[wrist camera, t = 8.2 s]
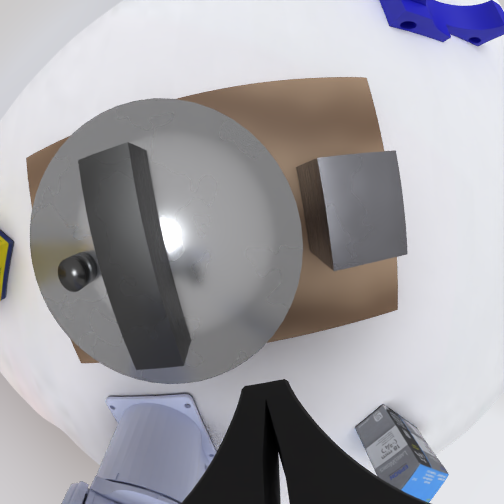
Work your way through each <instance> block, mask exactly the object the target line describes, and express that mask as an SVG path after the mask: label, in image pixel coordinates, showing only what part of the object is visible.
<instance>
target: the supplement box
mask: <svg viewBox="0 0 504 504" xmlns="http://www.w3.org/2000/svg"><path fill="white" fill-rule="evenodd" d="M13 244H14V242H13V241H12V240H11V239H10V238H9V237H8V236H6V235H5V234H4V233H3V232H2V231H0V300H2V299H4V298H5V297H6V289H7V280H8V273H9V266H10V260H11V255H12V248H13Z"/></svg>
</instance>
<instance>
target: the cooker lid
mask: <svg viewBox="0 0 504 504" xmlns="http://www.w3.org/2000/svg"><path fill="white" fill-rule="evenodd" d="M30 249H31V257H32V264H33V268H34V272H35V276H36V280H37V283H38V286H39V288H40V291H41V294H42V296H43V298H44V300H45V302H46V304H47V306H48V308H49V310H50V312H51V313H52V315H53V317H54V318H55V320H56V321H57V323H58V324H59V325H60V327H61V328H62V329H63V330H64V332H65V333H66V334H67V335H68V337H69V338H70V339H71V340H72V341H73V342H74V343H75V344H76V345H77V346H79V347H80V348H81V349H82V350H83V351H84V352H86V353H87V354H88V355H89V356H91V357H92V358H93V359H95V360H97V361H98V362H100V363H101V364H103V365H105V366H106V367H108V368H110V369H112V370H114V371H116V372H119V373H121V374H123V375H126V376H129V377H132V378H135V379H139V380H144V381H148V382H154V383H165V384H180V383H190V382H196V381H202V380H205V379H209V378H212V377H215V376H218V375H220V374H223V373H225V372H227V371H229V370H232V369H234V368H235V367H237V366H238V365H240V364H242V363H243V362H245V361H247V360H248V359H249V358H250V357H252V356H253V355H254V354H255V353H256V352H258V351H259V350H260V349H261V348H262V347H263V346H264V345H265V344H266V343H267V342H268V340H269V339H270V338H271V337H272V336H273V335H274V333H275V332H276V331H277V329H278V328H279V326H280V325H281V323H282V322H283V320H284V318H285V316H286V314H287V312H288V310H289V308H290V306H291V304H292V302H293V299H294V296H295V293H296V290H297V287H298V283H299V278H300V273H301V268H302V254H303V240H302V228H301V221H300V217H299V213H298V208H297V204H296V201H295V198H294V196H293V193H292V191H291V188H290V185H289V183H288V181H287V179H286V177H285V176H284V174H283V172H282V170H281V168H280V167H279V165H278V163H277V162H276V161H275V159H274V158H273V157H272V155H271V154H270V153H269V151H268V150H267V149H266V147H265V146H264V145H263V144H262V143H261V142H260V141H259V140H258V139H257V138H256V137H255V136H254V135H253V134H252V133H250V132H249V131H248V130H247V129H245V128H244V127H243V126H241V125H240V124H239V123H237V122H236V121H234V120H233V119H231V118H230V117H228V116H226V115H224V114H222V113H220V112H218V111H216V110H214V109H212V108H209V107H206V106H203V105H200V104H197V103H194V102H189V101H183V100H177V99H156V98H155V99H146V100H139V101H133V102H130V103H126V104H123V105H119V106H116V107H114V108H112V109H110V110H107V111H105V112H103V113H101V114H99V115H98V116H96V117H94V118H93V119H91V120H90V121H88V122H87V123H85V124H84V125H83V126H81V127H80V128H79V129H78V130H77V131H76V132H74V133H73V134H72V135H71V136H70V137H69V138H68V139H67V140H66V142H65V143H64V144H63V145H62V146H61V147H60V148H59V150H58V151H57V153H56V154H55V156H54V157H53V159H52V160H51V162H50V163H49V165H48V167H47V169H46V171H45V173H44V175H43V177H42V179H41V182H40V184H39V187H38V190H37V193H36V196H35V200H34V204H33V209H32V215H31V224H30Z"/></svg>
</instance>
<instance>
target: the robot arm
mask: <svg viewBox="0 0 504 504" xmlns="http://www.w3.org/2000/svg"><path fill="white" fill-rule="evenodd" d="M105 402H106V404H107V406H108V407H109V409H110V411H111V412H112V414H113V416H114V417H115V419H116V421H117V422H118V426H117V428H116V431H115V433H114V435H113V437H112V440H111V442H110V444H109V447H108V449H107V451H106V454H105V456H104V458H103V461H102V463H101V466H100V468H99V470H98V473H97V475H96V476H95V478H94V480H93V482H92V485H91V487H90V489H88V484H87V483H85V482H83V481H80V482H79V483H72V484H71V485H70V487H69V489H68V491H67V493H66V495H65V497H64V499H63V502H62V504H280V479H279V457H278V452H279V455H280V459H281V462H282V466H283V469H284V473H285V476H286V481H287V488H288V495H289V501H290V504H430V503H428V502H425V501H423V500H421V499H419V498H416V497H414V496H412V495H410V494H407V493H405V492H404V491H402V490H400V489H398V488H396V487H395V486H393V485H391V484H389V483H388V482H386V481H384V480H382V479H381V478H379V477H377V476H376V475H374V474H373V473H371V472H370V471H369V470H367V469H366V468H364V467H363V466H362V465H360V464H359V463H358V462H356V461H355V460H354V459H353V458H351V457H350V456H349V455H348V454H347V453H345V452H344V451H343V450H342V449H341V448H340V447H339V446H338V445H337V444H336V443H335V442H334V441H333V440H332V439H331V438H330V437H329V436H328V435H327V434H326V433H325V432H324V431H323V430H322V429H321V428H320V427H319V426H318V425H317V423H316V422H315V421H314V420H313V419H312V417H311V416H310V415H309V414H308V413H307V411H306V410H305V409H304V407H303V406H302V405H301V403H300V402H299V400H298V399H297V397H296V396H295V394H294V392H293V390H292V389H291V387H290V384H289V382H288V381H287V380H285V379H283V380H278V381H272V382H267V383H261V384H255V385H249V386H244V388H243V389H242V391H241V395H240V399H239V402H238V405H237V408H236V411H235V413H234V416H233V419H232V421H231V423H230V426H229V428H228V430H227V433H226V435H225V437H224V439H223V441H222V443H221V445H220V447H219V449H218V450H217V452H216V449H215V447H214V445H213V443H212V441H211V439H210V437H209V435H208V433H207V430H206V428H205V426H204V424H203V422H202V419H201V417H200V415H199V413H198V410H197V408H196V406H195V403H194V401H193V398H192V397H191V396H190V395H188V394H180V395H165V396H143V397H107V398H106V400H105ZM187 404H190V405H187Z"/></svg>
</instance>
